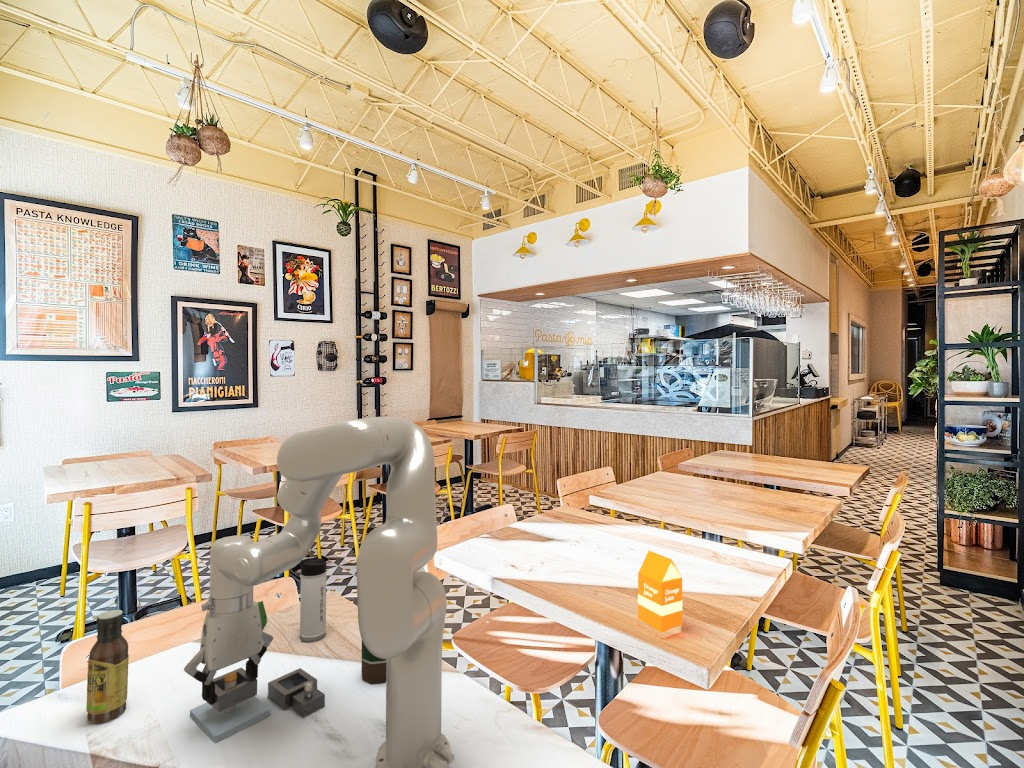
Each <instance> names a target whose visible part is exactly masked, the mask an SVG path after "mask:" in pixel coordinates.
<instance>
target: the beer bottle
mask: <svg viewBox="0 0 1024 768" xmlns="http://www.w3.org/2000/svg"><path fill="white" fill-rule="evenodd" d="M386 667H387V659H381V658H378V657H376V656H374V655H373V654H372V653H370V652H369V650H368V649H367V648H366V646H365V645H364V643H363V641H362V640H361V679H362V681H364V682H366V683H368V684H370V685H374V684H383V683H386Z"/></svg>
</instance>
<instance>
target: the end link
mask: <svg viewBox="0 0 1024 768" xmlns="http://www.w3.org/2000/svg"><path fill="white" fill-rule="evenodd" d="M229 673H237V680H236V686H234V687H231V688H229V689H227V690H225V682H224V676H225V675H227V674H229ZM213 682H214V683H215V702H214V704H212V705H211V706H212V707H213V708H214V709H215V710H217V711H218V712H221V711H223V710H226V709H228V708H230V707H232V706H234V705H236V704H239V703H241V702H243V701H245V700H247V699H249V698H251V697H254V696H255V697H256V696H258V678H255V677H253V676H251V675H250V674H249V673H248V672H246V669H244V668H243V667H239V668H237V669H234V670H232V671H230V672H226V673H224V674H221V675H219V676H218V677H214V678H213Z"/></svg>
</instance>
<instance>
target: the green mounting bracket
mask: <svg viewBox="0 0 1024 768" xmlns="http://www.w3.org/2000/svg"><path fill="white" fill-rule="evenodd" d="M256 602H257V601H256ZM257 603H258V607H259V612H260V618H261V626H262V630H263V629H264V628H265V626H266V624H267V621H268V617H267V612H266V609H265V604H264V601H263V600H260V601H258V602H257Z"/></svg>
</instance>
